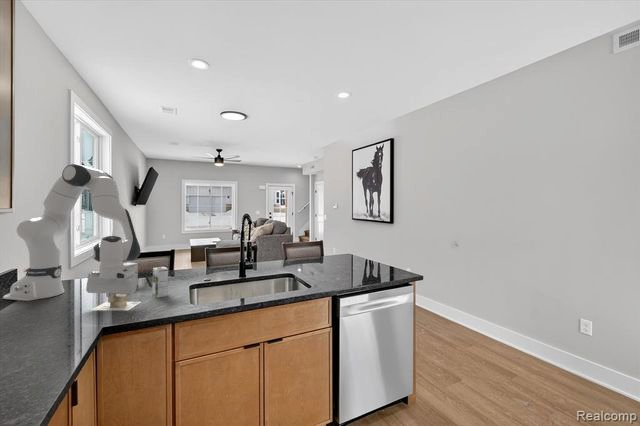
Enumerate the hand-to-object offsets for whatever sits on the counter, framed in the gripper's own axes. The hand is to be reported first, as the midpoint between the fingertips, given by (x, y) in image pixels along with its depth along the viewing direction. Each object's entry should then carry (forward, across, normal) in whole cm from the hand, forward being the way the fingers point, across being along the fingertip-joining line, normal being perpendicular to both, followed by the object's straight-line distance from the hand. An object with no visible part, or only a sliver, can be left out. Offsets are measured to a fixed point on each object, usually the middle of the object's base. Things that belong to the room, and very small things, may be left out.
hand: (111, 302), depth 130 cm
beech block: (+2, +3, 0) cm, 3 cm away
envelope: (+2, +2, 0) cm, 3 cm away
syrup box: (+2, +14, +15) cm, 21 cm away
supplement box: (+3, -12, +32) cm, 34 cm away
